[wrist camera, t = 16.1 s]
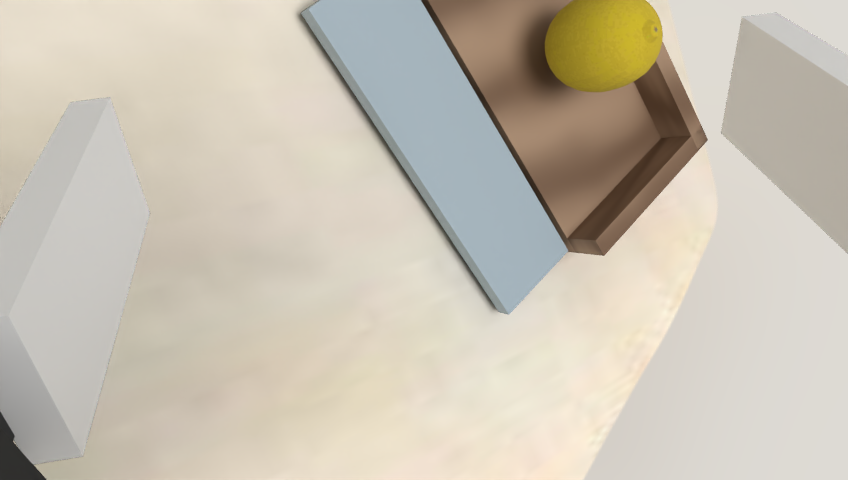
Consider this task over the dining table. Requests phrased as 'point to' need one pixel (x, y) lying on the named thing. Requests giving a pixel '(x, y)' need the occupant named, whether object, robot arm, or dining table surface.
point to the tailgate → (442, 139)
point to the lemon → (603, 43)
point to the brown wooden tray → (571, 120)
